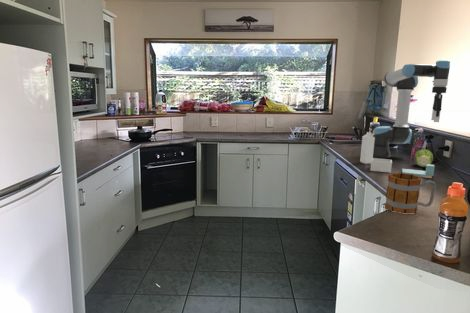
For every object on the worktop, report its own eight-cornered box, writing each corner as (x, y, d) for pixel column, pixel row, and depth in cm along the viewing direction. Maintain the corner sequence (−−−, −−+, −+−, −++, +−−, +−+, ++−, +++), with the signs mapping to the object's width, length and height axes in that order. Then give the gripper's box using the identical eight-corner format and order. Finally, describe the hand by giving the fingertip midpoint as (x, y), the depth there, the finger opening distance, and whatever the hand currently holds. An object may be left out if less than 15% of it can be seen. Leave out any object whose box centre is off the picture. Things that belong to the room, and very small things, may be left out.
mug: (388, 213, 148) (392, 179, 145) (381, 203, 161) (384, 171, 158) (438, 217, 145) (443, 182, 142) (427, 206, 158) (431, 174, 155)
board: (403, 171, 224) (403, 170, 224) (429, 174, 218) (430, 172, 218) (404, 175, 214) (404, 173, 214) (431, 178, 208) (431, 176, 208)
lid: (401, 170, 224) (403, 160, 223) (431, 173, 217) (433, 163, 216) (402, 173, 214) (403, 164, 213) (433, 177, 207) (435, 167, 206)
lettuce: (412, 168, 231) (414, 152, 229) (413, 163, 249) (415, 147, 247) (432, 171, 226) (434, 154, 224) (431, 165, 244) (434, 149, 242)
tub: (370, 168, 230) (372, 157, 229) (390, 170, 226) (391, 159, 224) (370, 171, 221) (371, 160, 220) (390, 173, 217) (391, 162, 215)
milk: (367, 162, 248) (370, 131, 244) (372, 164, 242) (375, 133, 238) (359, 162, 247) (362, 131, 243) (364, 164, 241) (367, 133, 237)
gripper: (430, 86, 225) (426, 119, 230) (435, 86, 203) (430, 122, 207) (444, 86, 222) (439, 119, 227) (450, 86, 200) (444, 123, 204)
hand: (435, 121), depth 217 cm, fingers open, 13 cm apart
